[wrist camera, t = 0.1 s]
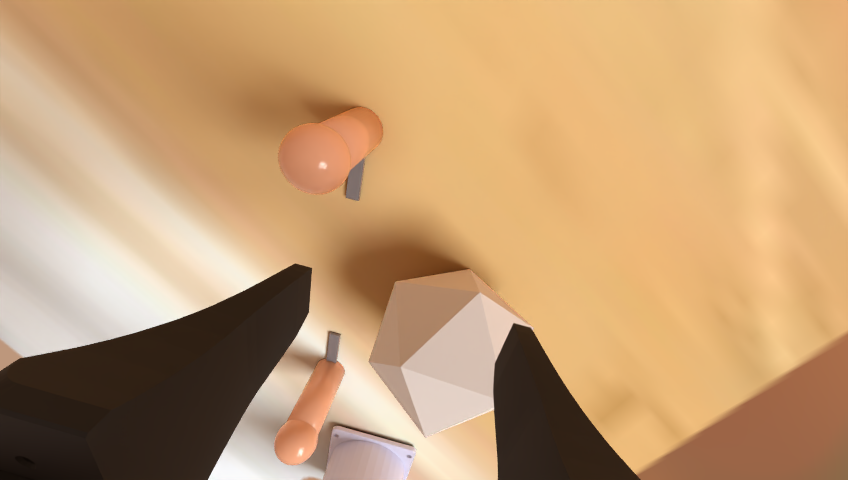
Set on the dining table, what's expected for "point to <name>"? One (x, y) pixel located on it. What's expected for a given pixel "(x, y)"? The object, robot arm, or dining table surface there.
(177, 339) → the robot arm
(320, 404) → the pair of orange pieces
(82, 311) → the dining table surface
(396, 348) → the die
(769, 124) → the dining table surface
